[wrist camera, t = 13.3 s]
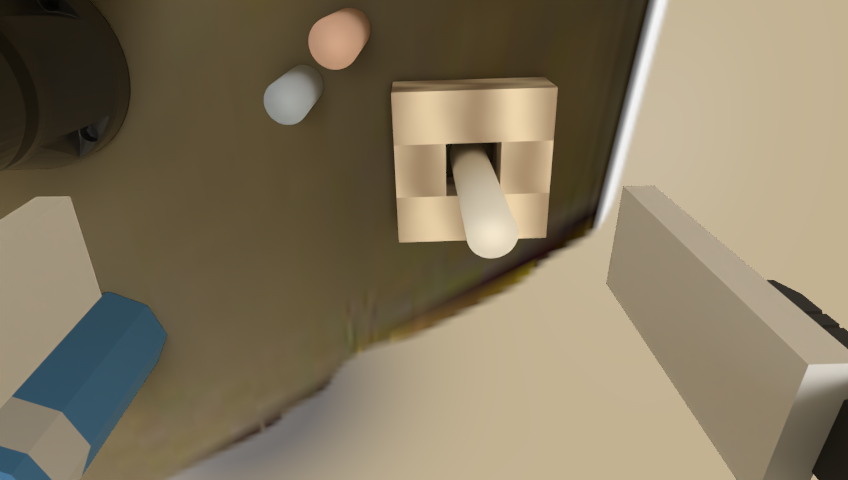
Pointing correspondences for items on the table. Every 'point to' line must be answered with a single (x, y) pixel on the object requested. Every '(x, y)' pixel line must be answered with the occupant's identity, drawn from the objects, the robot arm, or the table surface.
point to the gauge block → (471, 123)
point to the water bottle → (79, 392)
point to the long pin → (482, 202)
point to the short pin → (293, 94)
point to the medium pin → (339, 38)
